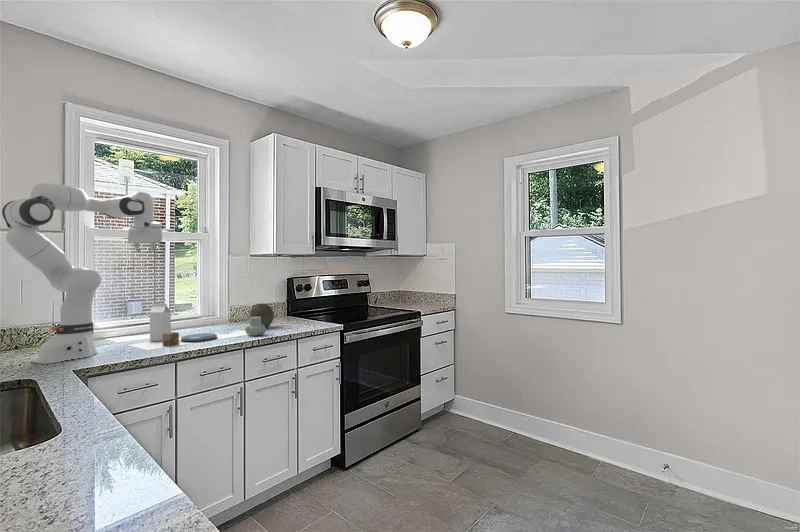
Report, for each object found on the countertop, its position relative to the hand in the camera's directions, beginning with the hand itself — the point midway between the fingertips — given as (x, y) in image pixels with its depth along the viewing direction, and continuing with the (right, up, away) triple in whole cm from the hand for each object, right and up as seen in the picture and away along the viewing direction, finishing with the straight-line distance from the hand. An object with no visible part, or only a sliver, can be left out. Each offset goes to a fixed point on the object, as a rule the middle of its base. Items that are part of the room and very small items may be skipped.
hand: (144, 251), depth 214 cm
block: (+16, -46, -6) cm, 49 cm away
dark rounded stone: (+45, -45, +42) cm, 77 cm away
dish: (+23, -46, +9) cm, 52 cm away
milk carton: (+3, -46, +9) cm, 47 cm away
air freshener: (+50, -45, +18) cm, 70 cm away
